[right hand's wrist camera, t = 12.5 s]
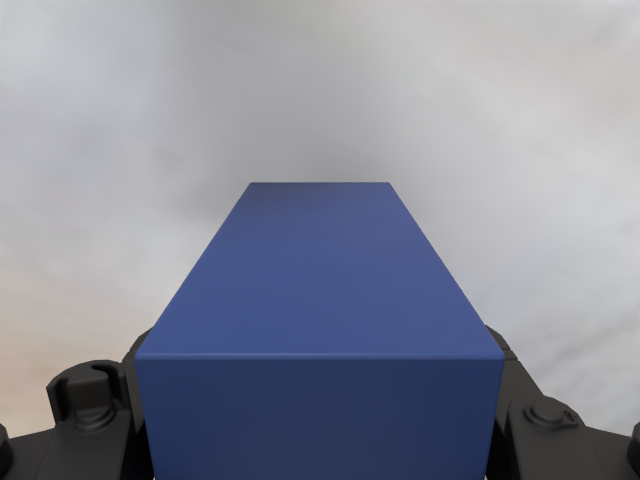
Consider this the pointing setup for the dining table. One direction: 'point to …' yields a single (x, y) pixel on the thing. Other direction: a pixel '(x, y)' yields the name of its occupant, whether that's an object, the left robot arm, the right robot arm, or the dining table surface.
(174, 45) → the dining table surface
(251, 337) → the brick
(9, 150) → the dining table surface
